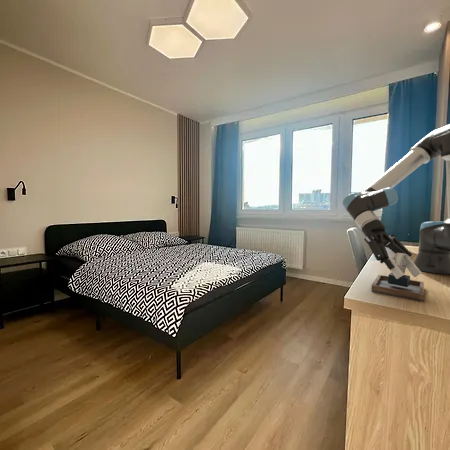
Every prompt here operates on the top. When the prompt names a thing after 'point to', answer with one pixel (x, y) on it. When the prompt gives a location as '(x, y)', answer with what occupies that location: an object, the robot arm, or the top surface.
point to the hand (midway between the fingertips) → (409, 275)
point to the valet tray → (399, 289)
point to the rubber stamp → (402, 263)
